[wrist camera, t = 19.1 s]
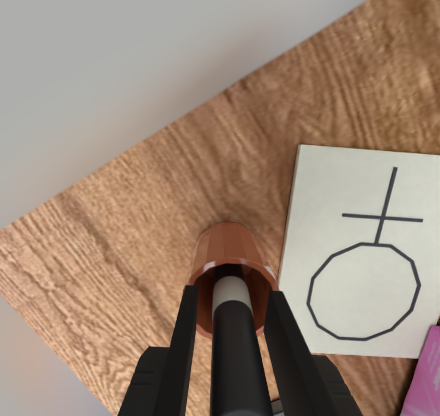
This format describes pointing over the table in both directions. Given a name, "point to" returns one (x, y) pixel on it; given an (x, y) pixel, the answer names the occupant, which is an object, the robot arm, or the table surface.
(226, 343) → the marker
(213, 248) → the pen cup
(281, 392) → the robot arm
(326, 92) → the table surface
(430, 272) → the notepad
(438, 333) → the gum box
